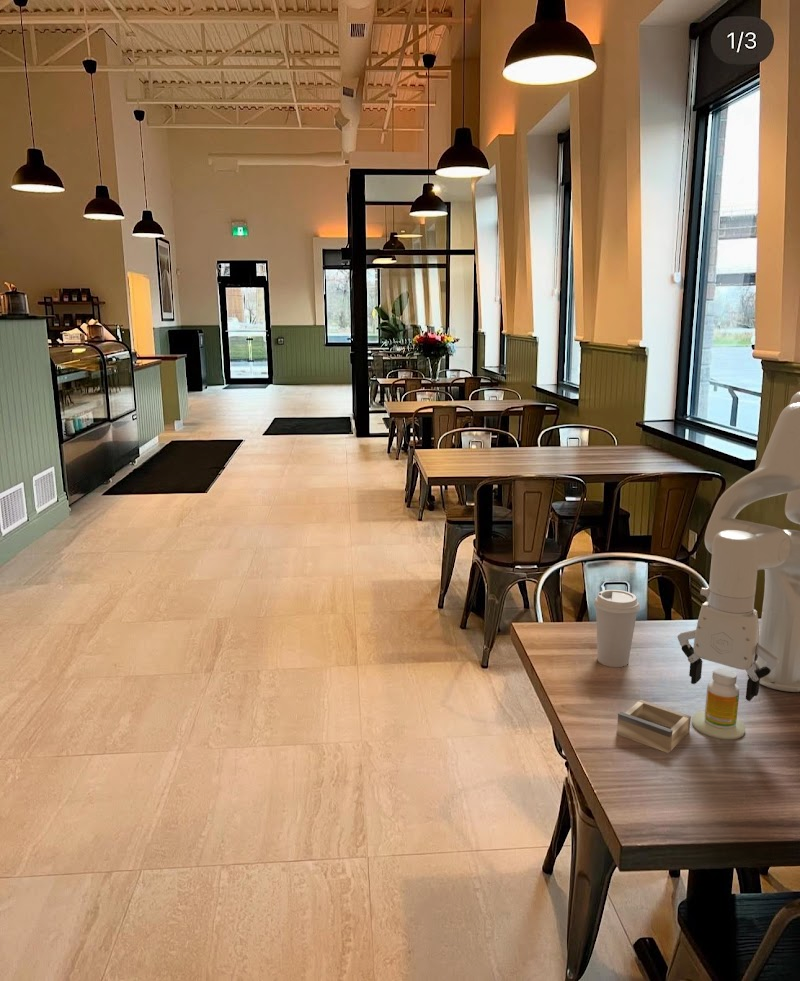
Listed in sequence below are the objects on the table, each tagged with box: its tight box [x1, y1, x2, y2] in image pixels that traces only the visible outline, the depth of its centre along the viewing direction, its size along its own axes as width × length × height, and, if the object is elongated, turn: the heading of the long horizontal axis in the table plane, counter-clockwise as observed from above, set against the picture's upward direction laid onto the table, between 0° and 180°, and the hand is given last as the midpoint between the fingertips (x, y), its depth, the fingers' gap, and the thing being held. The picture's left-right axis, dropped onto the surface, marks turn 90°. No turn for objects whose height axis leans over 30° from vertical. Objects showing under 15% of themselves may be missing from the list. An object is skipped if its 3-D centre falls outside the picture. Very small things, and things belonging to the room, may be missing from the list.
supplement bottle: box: [704, 668, 740, 729], centre depth 139 cm, size 5×5×10 cm
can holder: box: [616, 699, 692, 754], centre depth 137 cm, size 10×10×4 cm
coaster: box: [691, 709, 746, 740], centre depth 140 cm, size 9×9×1 cm
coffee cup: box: [593, 589, 641, 668], centre depth 165 cm, size 10×10×15 cm
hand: (722, 689), depth 139 cm, fingers open, 9 cm apart
